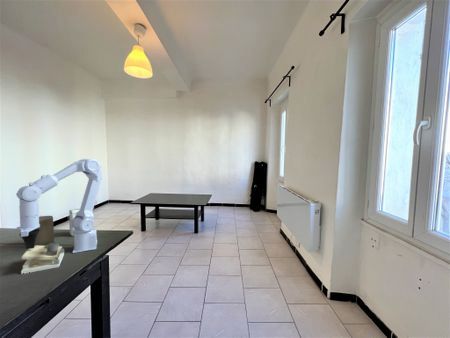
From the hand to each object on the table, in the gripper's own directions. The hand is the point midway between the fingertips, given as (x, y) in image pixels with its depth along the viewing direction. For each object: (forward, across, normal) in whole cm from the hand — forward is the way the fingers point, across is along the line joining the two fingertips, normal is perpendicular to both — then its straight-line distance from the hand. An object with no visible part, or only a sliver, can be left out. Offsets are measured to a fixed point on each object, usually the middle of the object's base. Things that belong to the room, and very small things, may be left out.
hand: (30, 248), depth 88 cm
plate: (+3, 0, +4) cm, 5 cm away
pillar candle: (+8, -26, -2) cm, 27 cm away
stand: (+7, 0, +4) cm, 9 cm away
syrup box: (+8, -34, +12) cm, 37 cm away
